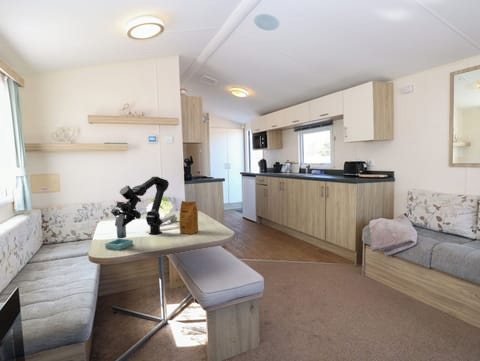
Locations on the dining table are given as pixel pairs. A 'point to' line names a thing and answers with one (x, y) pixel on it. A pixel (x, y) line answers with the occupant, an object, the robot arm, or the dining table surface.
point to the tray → (119, 244)
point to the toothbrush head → (169, 218)
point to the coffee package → (188, 218)
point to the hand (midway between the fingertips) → (119, 226)
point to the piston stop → (120, 226)
